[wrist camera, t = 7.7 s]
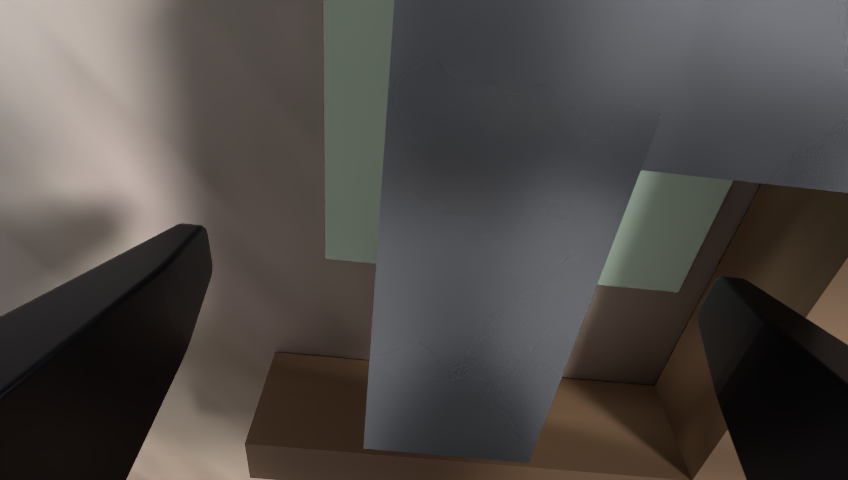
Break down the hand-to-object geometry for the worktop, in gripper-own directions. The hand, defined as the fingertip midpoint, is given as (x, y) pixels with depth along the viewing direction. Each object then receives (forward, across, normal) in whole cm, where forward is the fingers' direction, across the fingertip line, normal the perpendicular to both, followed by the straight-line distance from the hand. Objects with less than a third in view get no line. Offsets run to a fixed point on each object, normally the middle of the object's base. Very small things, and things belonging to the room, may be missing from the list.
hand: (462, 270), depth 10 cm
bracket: (+3, -2, -2) cm, 4 cm away
